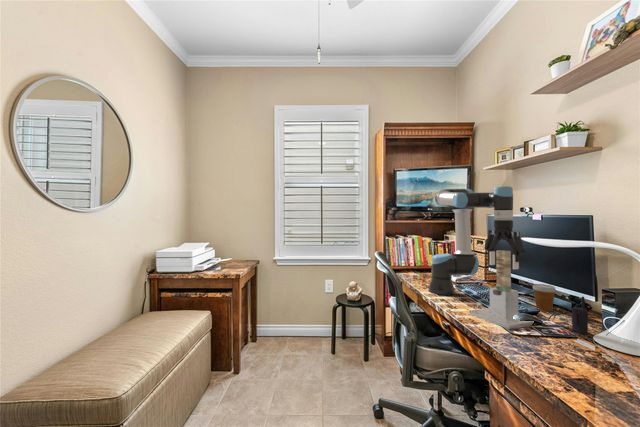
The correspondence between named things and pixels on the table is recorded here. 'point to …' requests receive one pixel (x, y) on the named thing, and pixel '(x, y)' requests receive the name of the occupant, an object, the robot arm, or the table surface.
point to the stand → (502, 309)
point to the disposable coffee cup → (544, 296)
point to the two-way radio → (580, 318)
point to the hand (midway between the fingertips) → (503, 266)
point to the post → (503, 270)
